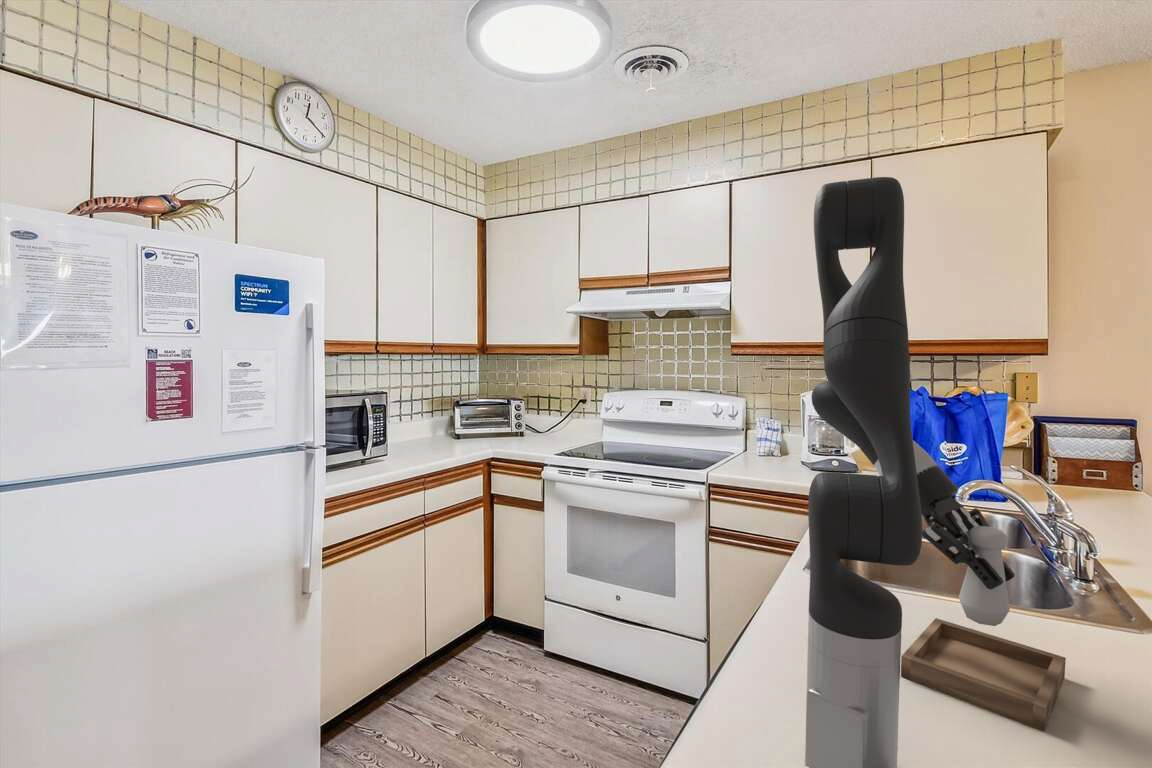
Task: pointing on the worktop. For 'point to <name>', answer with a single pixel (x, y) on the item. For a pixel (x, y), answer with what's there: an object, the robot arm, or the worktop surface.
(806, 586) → the worktop surface
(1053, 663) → the walnut tray
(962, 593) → the salt shaker
